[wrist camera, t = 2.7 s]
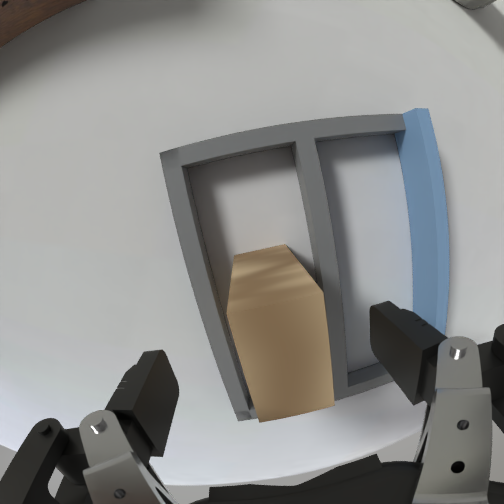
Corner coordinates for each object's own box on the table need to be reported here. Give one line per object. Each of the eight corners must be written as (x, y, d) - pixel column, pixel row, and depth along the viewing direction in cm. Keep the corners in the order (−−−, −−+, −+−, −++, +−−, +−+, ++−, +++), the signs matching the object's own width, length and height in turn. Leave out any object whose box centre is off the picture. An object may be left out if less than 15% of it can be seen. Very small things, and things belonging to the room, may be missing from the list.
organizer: (402, 118, 14) (428, 108, 12) (419, 356, 18) (438, 375, 15) (167, 156, 15) (150, 148, 12) (238, 407, 18) (238, 435, 16)
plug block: (284, 244, 16) (323, 292, 8) (298, 320, 17) (334, 405, 9) (234, 255, 16) (226, 313, 8) (252, 330, 17) (259, 422, 9)
